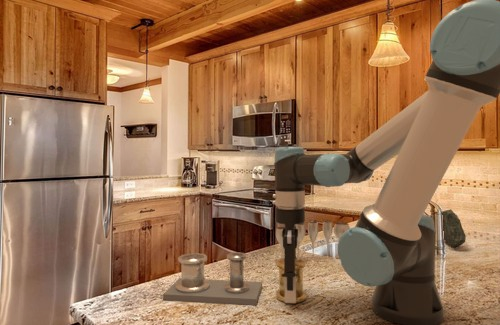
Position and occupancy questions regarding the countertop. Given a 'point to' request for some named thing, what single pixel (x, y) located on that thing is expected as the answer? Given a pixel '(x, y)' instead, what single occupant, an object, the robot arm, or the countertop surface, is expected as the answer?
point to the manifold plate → (217, 294)
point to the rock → (452, 229)
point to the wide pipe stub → (192, 273)
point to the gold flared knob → (299, 280)
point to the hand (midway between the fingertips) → (290, 295)
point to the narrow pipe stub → (236, 274)
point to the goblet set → (314, 234)
